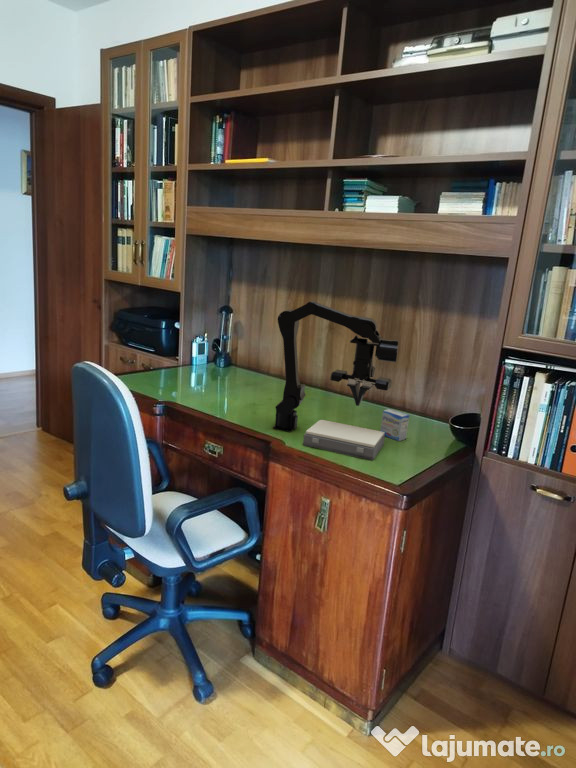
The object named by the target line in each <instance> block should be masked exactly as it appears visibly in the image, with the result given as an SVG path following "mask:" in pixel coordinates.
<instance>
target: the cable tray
mask: <svg viewBox="0 0 576 768" xmlns="http://www.w3.org/2000/svg"><path fill="white" fill-rule="evenodd" d="M303 445H304V446H303ZM384 445H385V435H384V436H383V437H382V438H381V439H380V441H379V442H378V443H377V445H376V446H375V447H374V448H373V447H368V446H363V445H359V444H354V443H349V442H344V441H340V440H335V439H330V438H325V437H320V436H316V435H311V434H306V433H304V434H303V443H302V446H303V447H308V446H309V448H312V447H314V449H317V448H320V449H319V450H322V449H324V450H323V451H326V450H328V451H327V452H331V451H333V452H332V453H335V452H336V454H340V455H344V456H345V455H346V456H349V457H354V458H358V459H364V460H368V461H374V459H376V457H377V455H378V454H379V452H380V451H381V450H382V448H383V447H384Z"/></svg>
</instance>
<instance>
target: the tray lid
mask: <svg viewBox="0 0 576 768" xmlns="http://www.w3.org/2000/svg"><path fill="white" fill-rule="evenodd" d="M384 433H385V432H382V431H380V430H377V429H376V430H375V429H371V428H365V427H361V426H357V425H350V424H346V423H342V422H341V423H340V422H335V421H331V420H325V419H319V420H318V421H317V422H315V423H314V424H313V425H312V426H311V427H309V428H307V430H305V434H311V435H316V436H320V437H325V438H330V439H335V440H340V441H344V442H349V443H354V444H359V445H363V446H368V447H373V448H374V447H375V446H376V445H377V443H378V442H379V441H380V439H381V438H382V437H383V436H384Z"/></svg>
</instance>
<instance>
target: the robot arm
mask: <svg viewBox="0 0 576 768" xmlns="http://www.w3.org/2000/svg"><path fill="white" fill-rule="evenodd" d="M310 315H312V316H315V317H318V318H321V319H324V320H326V321H329V322H331V323H334V324H337V325H340V326H342V327H345V328H347V329H349V330H350V331H352V333H354V334H356V335H355V336H354V337H353V338H352V339H351V340H350V341H349V343H350V344H355V351H354V359H353V361H352V373H351V374H349V373H348V371H347V370H343V369H336V370H333V371H332V372H331V373H330V377H329V378H330V381H332V382H338V383H340V382H341V381H342V380H344V381H347V384H346V386H347V387H349V388H350V390H351V394H352V397H353V399H354V403H355V405H356V406H357V407H358V406H360V405H361V402H362V400H363V399H364V396H365V394H366V392H368V391H370V390H371V389H372V388H373V387H374V386H375V388H376V390H382V391H388V390H389V389H390V388H392V383H393V382H392V379H391V378H388V377H383V376H379V377H378V378H374V376H375V372H376V368H375V366H374V365H373V364H374V363H373V362H374V361H373V360H374V359H373V358H374V357H376V358H377V360H378V361H381V362H382V361H383V362H389V363H397V360H398V359H397V358H398V352H399V350H398V349H399V340H398V339H385V338H383V337H382V335H380V333H379V331H378V323H377V321H376V320H375V319H374V318H372V317H367V316H361V315H355V314H354V315H353V314H349V313H346V312H344V311H341V310H337V309H335V308H333V307H330V306H328V305H325V304H321V303H319V302H317V301H315V300H311V301H308V302H306V304H304V305H301V306H299V307H297V308H295V309H291V308H290V309H287V310H284V311H282V312H280V313H279V315H278V316H277V324H278V328H279V332H280V335H281V337H282V340H283V342H282V343H283V355H284V356H283V357H284V358H283V359H284V371H285V385H284V388H283V395H282V400H280V402H278V403H277V405H275V422H274V423H275V424H274V425H273V426H272V428H273V429H275V430H279V431H283V432H284V431H285V432H289V433H291V432H292V431H294V430H295V429H297V427H298V416H299V415H298V414H297V413H298V412H297V410H296V409H297V408H299V406H301V404H302V403H303V401H304V398H305V397H306V393H305V387H306V384H305V383H303V384H301V381H300V378H299V363H298V362H299V361H298V359H299V358H298V349H297V348H298V344H297V343H298V342H297V341H298V340H297V336H298V332H299V327H300V320H302V319H304V318H306V317H309V316H310ZM369 340H370V341H369ZM374 351H375V354H374ZM361 383H362V385H361Z"/></svg>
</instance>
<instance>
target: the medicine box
mask: <svg viewBox="0 0 576 768" xmlns="http://www.w3.org/2000/svg"><path fill="white" fill-rule="evenodd" d="M381 417H382V418H381V423H380V430H379V431H382V432H385V433H384V435H385V437H386V438H387V439H388V438H389V439H392V440H394V441H397V442H401V441H404V440H406V439H407V433H408V429H409V427H408V426H409V421H410V414H406V413H404V412H400V411H397V410H394V409H391V408H388V409H385V410H382V415H381Z"/></svg>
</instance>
